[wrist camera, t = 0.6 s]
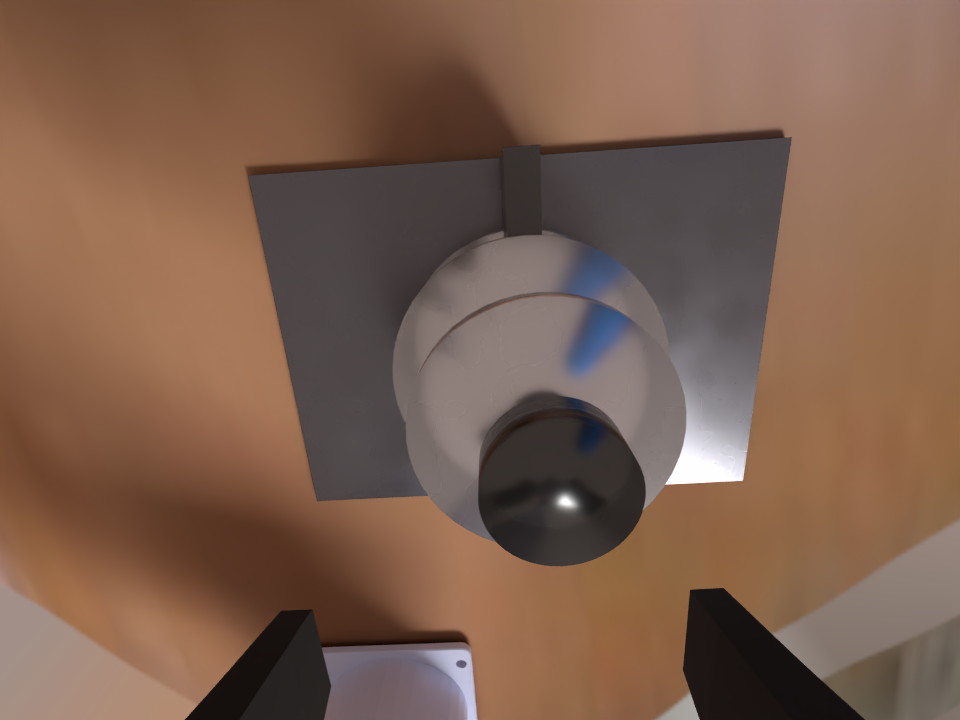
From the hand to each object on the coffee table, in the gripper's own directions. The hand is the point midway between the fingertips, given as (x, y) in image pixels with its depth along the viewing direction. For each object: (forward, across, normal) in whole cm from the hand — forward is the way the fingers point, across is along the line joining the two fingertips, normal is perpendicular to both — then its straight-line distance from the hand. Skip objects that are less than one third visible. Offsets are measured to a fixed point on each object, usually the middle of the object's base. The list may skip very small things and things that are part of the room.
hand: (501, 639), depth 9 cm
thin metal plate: (+10, -1, -3) cm, 11 cm away
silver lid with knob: (+3, -1, -3) cm, 5 cm away
